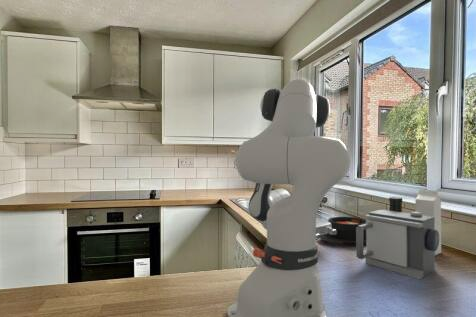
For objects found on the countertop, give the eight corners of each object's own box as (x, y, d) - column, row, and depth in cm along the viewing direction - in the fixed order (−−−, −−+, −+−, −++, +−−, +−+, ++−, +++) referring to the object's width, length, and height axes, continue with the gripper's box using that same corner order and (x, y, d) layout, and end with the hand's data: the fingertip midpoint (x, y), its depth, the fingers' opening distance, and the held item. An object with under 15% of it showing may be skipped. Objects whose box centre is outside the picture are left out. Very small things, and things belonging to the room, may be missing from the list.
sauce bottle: (388, 250, 108) (388, 195, 108) (408, 253, 104) (407, 196, 104) (384, 254, 103) (383, 197, 103) (404, 258, 99) (404, 199, 99)
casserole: (355, 232, 134) (354, 213, 134) (390, 243, 117) (389, 221, 117) (308, 238, 125) (308, 218, 125) (339, 251, 107) (338, 228, 107)
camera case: (426, 281, 81) (426, 219, 81) (365, 263, 95) (365, 210, 95) (440, 272, 88) (440, 214, 87) (381, 256, 102) (381, 206, 101)
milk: (422, 248, 110) (422, 188, 110) (441, 252, 105) (441, 190, 105) (415, 251, 106) (414, 190, 106) (434, 256, 101) (434, 191, 101)
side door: (393, 273, 82) (393, 230, 82) (353, 261, 91) (353, 222, 91) (407, 266, 87) (407, 225, 87) (368, 255, 96) (367, 218, 96)
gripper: (275, 222, 105) (306, 230, 94) (313, 215, 117) (344, 221, 106) (275, 240, 105) (306, 250, 94) (313, 231, 117) (344, 238, 106)
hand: (326, 234), depth 100 cm, fingers open, 8 cm apart
